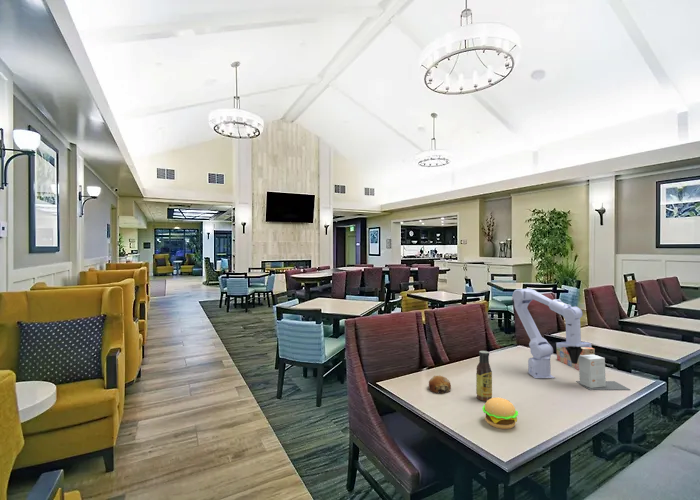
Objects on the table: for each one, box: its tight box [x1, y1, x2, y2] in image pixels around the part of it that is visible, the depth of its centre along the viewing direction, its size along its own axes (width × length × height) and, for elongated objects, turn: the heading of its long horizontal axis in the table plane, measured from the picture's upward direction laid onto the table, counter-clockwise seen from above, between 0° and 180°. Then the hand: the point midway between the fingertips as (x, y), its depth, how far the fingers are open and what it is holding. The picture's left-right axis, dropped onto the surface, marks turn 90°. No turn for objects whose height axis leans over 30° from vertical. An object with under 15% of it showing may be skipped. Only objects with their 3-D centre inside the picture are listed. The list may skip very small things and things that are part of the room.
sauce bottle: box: [475, 350, 493, 402], centre depth 147 cm, size 6×6×20 cm
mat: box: [575, 380, 631, 391], centre depth 158 cm, size 18×10×1 cm, turn 86°
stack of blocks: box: [556, 347, 596, 371], centre depth 186 cm, size 21×6×12 cm, turn 3°
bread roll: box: [428, 375, 452, 395], centre depth 158 cm, size 10×10×8 cm
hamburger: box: [482, 397, 519, 430], centre depth 126 cm, size 12×12×9 cm
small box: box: [578, 354, 607, 388], centre depth 158 cm, size 8×6×13 cm
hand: (574, 363), depth 159 cm, fingers closed
